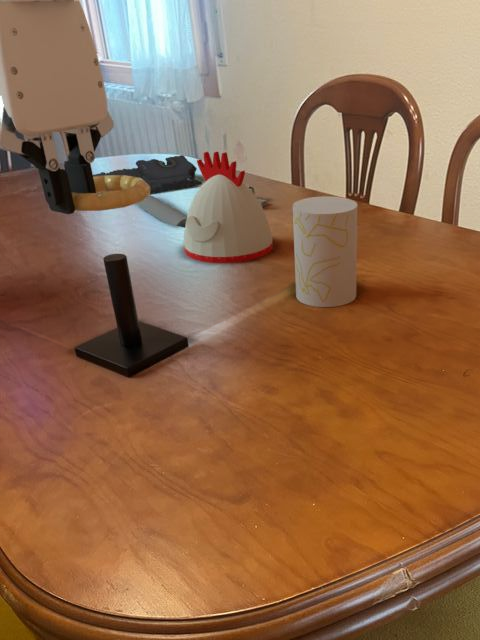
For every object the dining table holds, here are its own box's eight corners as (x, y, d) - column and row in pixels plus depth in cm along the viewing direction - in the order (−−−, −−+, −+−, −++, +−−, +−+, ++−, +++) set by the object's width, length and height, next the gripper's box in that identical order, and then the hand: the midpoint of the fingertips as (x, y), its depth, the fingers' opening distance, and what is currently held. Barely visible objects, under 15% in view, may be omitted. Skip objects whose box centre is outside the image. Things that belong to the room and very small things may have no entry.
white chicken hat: (221, 234, 112) (211, 140, 104) (289, 246, 106) (285, 147, 98) (167, 259, 102) (151, 157, 94) (239, 273, 96) (229, 166, 88)
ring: (37, 204, 66) (33, 188, 65) (109, 185, 72) (106, 170, 71) (97, 217, 61) (94, 200, 60) (169, 196, 68) (166, 179, 67)
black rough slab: (85, 185, 143) (81, 162, 140) (181, 172, 152) (178, 150, 150) (105, 201, 132) (101, 176, 129) (207, 185, 141) (205, 162, 139)
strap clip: (255, 202, 129) (254, 180, 127) (268, 204, 128) (267, 181, 125) (229, 213, 123) (226, 190, 121) (242, 215, 122) (240, 191, 119)
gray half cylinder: (158, 202, 130) (157, 193, 129) (198, 226, 116) (197, 216, 115) (137, 206, 128) (136, 197, 127) (175, 231, 114) (174, 220, 113)
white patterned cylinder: (286, 302, 87) (282, 210, 80) (309, 281, 93) (307, 194, 87) (344, 310, 85) (344, 216, 78) (364, 288, 91) (366, 199, 84)
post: (76, 356, 75) (52, 261, 69) (136, 328, 81) (120, 238, 75) (129, 378, 71) (108, 278, 65) (188, 346, 77) (175, 252, 71)
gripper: (74, -18, 61) (113, 186, 71) (-97, -17, 51) (-23, 223, 61) (128, -21, 58) (161, 195, 68) (-45, -20, 47) (25, 236, 57)
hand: (73, 207), depth 64 cm, fingers closed on ring, 2 cm apart
